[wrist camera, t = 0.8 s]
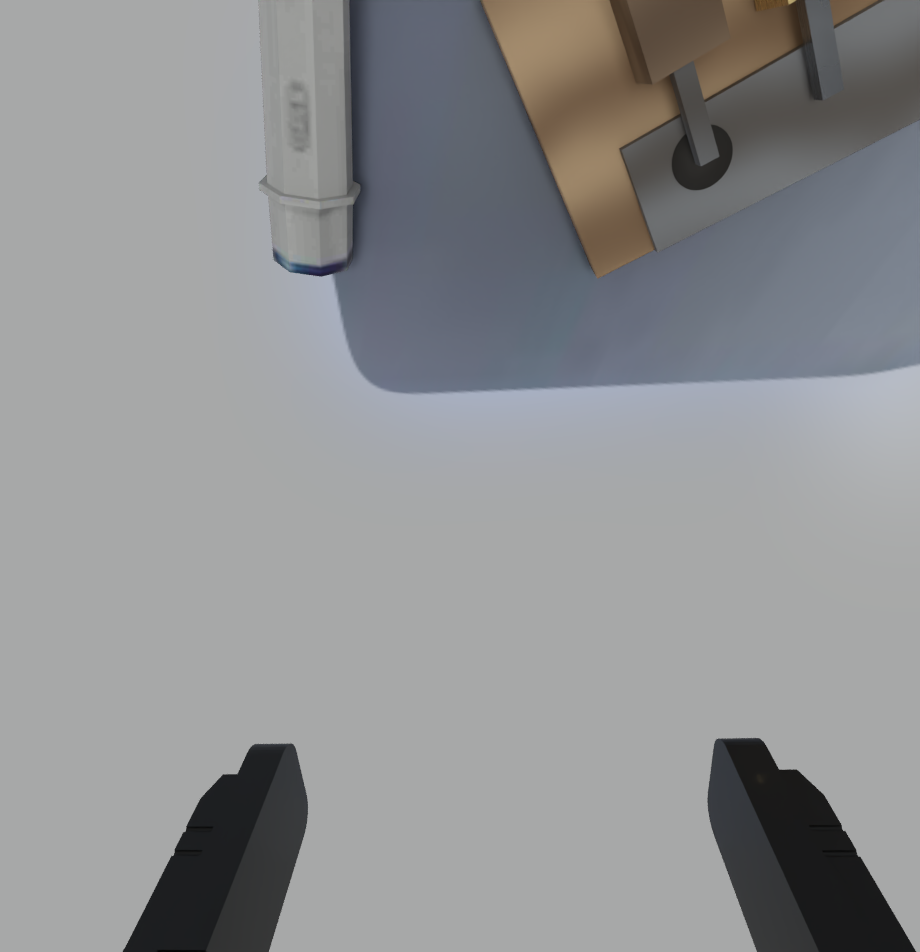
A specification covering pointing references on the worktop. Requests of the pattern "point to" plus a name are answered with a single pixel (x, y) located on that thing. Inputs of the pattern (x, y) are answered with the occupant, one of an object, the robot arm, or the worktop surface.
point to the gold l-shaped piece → (816, 44)
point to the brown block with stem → (675, 55)
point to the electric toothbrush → (308, 133)
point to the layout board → (728, 105)
